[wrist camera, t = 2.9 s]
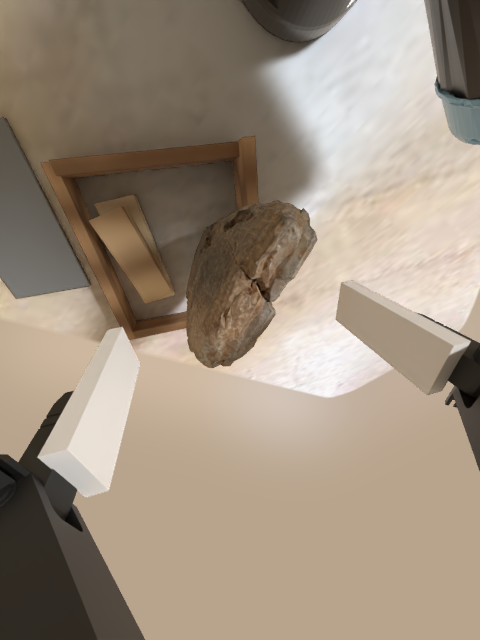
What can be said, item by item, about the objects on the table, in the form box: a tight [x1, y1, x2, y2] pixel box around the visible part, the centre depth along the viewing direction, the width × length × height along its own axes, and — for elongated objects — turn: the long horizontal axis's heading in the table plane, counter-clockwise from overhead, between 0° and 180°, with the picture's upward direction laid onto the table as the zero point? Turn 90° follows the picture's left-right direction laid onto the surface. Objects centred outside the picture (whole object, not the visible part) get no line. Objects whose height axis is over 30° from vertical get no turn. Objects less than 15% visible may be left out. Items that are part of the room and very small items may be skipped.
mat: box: [0, 117, 91, 298], centre depth 24 cm, size 17×9×1 cm, turn 6°
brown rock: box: [186, 200, 317, 368], centre depth 22 cm, size 14×5×20 cm, turn 151°
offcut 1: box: [94, 195, 175, 304], centre depth 28 cm, size 13×4×2 cm, turn 12°
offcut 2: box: [89, 206, 173, 304], centre depth 27 cm, size 11×4×2 cm, turn 19°
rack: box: [41, 136, 259, 340], centre depth 27 cm, size 21×20×6 cm
